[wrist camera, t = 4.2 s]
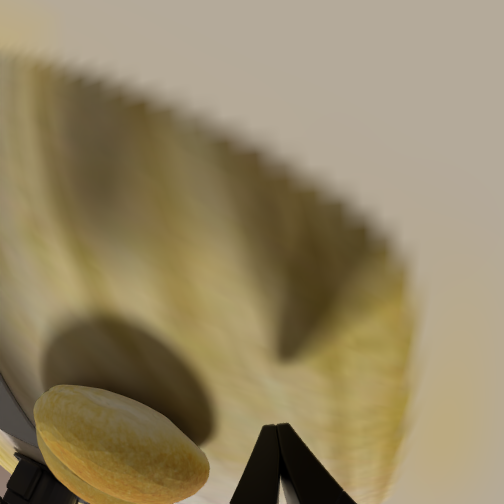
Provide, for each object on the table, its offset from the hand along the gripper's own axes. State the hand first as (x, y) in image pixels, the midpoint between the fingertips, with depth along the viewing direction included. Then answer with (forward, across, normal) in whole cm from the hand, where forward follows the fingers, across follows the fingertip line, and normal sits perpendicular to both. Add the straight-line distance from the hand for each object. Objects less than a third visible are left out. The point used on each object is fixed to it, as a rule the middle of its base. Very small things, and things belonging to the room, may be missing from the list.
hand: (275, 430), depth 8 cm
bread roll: (+2, +8, 0) cm, 8 cm away
